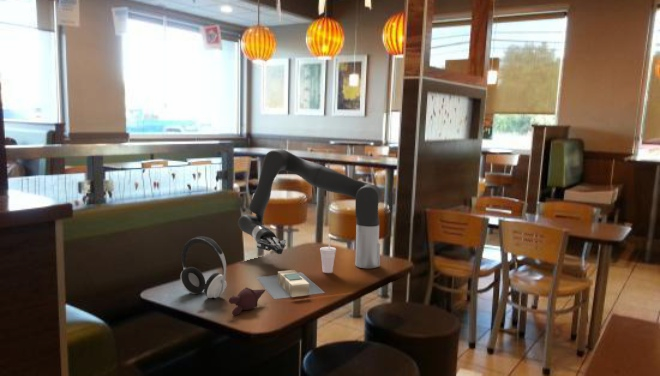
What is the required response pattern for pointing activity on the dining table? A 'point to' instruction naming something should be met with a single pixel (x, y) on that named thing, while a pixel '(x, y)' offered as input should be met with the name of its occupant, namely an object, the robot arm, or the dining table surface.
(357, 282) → the dining table surface
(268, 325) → the dining table surface
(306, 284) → the birch block
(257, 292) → the maroon rounded piece
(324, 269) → the smoothie
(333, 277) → the dining table surface
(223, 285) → the headphones
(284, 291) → the mat
